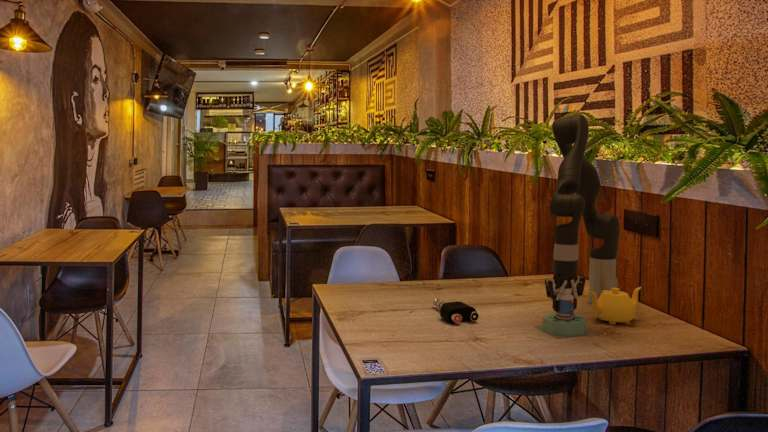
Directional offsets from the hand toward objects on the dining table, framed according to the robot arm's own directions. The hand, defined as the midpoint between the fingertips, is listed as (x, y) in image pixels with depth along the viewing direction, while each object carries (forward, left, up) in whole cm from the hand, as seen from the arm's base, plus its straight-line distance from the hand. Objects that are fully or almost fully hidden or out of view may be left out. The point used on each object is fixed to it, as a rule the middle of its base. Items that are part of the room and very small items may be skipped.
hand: (564, 310), depth 203 cm
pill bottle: (0, 0, -3) cm, 3 cm away
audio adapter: (+26, -30, -7) cm, 40 cm away
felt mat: (0, 0, -7) cm, 7 cm away
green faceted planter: (0, 0, -6) cm, 6 cm away
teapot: (-22, -4, -7) cm, 23 cm away
